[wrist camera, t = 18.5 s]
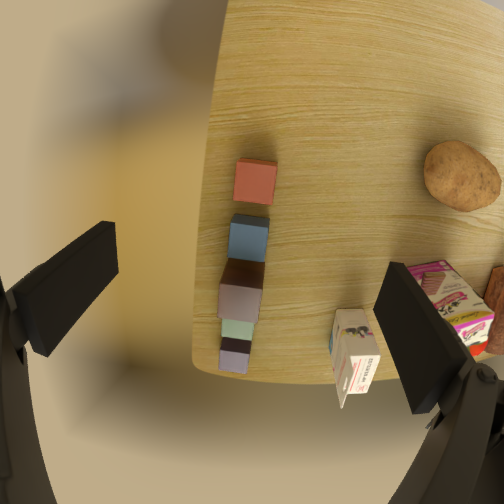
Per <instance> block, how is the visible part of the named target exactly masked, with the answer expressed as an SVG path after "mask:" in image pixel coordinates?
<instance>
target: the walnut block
mask: <svg viewBox="0 0 504 504" xmlns="http://www.w3.org/2000/svg"><path fill="white" fill-rule="evenodd" d="M264 270H265V262H258V261H251V260H243V259H236V258H228V261H227V263H226V266H225V269H224V272H223V275H222V278H221V280H220V283H219V297H218V312H217V318H223V319H230V320H237V321H243V322H250V323H257V322H258V316H259V309H260V303H261V297H262V290H263V280H264Z"/></svg>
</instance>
